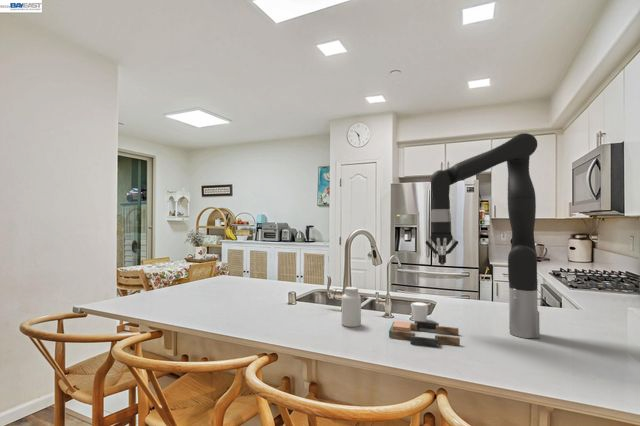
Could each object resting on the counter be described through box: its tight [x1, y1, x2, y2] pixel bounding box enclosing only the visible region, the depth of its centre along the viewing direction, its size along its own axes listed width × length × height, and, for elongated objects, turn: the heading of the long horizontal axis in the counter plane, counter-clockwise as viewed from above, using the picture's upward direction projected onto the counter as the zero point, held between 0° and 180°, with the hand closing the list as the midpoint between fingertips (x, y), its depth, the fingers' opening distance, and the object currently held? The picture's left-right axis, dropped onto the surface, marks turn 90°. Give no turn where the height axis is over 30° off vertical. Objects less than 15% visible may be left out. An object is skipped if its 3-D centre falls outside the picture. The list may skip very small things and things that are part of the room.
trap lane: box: [388, 321, 461, 348], centre depth 127 cm, size 24×20×2 cm
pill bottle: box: [341, 286, 362, 328], centre depth 142 cm, size 8×8×15 cm
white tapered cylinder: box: [410, 301, 429, 322], centre depth 148 cm, size 7×7×7 cm
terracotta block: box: [392, 320, 412, 332], centre depth 130 cm, size 6×7×4 cm
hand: (442, 264), depth 137 cm, fingers closed
